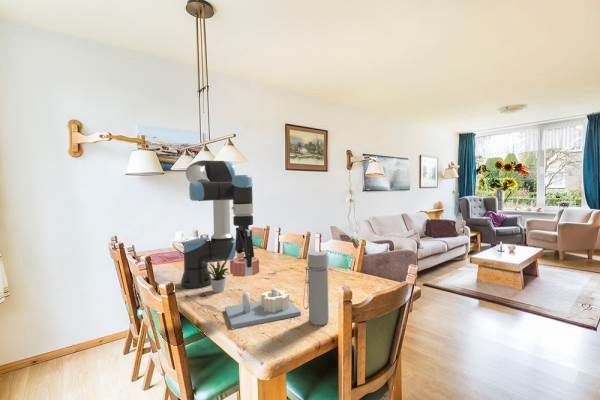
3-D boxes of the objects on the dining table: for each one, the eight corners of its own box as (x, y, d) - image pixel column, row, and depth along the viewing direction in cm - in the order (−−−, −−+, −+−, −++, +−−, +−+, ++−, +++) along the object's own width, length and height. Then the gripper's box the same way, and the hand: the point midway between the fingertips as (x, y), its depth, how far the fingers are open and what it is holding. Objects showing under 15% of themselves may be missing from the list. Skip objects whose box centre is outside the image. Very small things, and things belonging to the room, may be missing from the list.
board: (225, 310, 115) (224, 289, 115) (285, 300, 125) (285, 280, 125) (232, 328, 100) (231, 304, 99) (300, 315, 110) (300, 293, 109)
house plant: (199, 298, 129) (198, 262, 129) (201, 288, 142) (200, 256, 142) (231, 295, 133) (230, 260, 132) (230, 285, 146) (229, 254, 146)
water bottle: (327, 316, 108) (326, 251, 107) (330, 326, 100) (329, 255, 99) (303, 317, 108) (302, 251, 107) (304, 327, 100) (302, 256, 99)
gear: (253, 268, 118) (252, 256, 118) (261, 273, 109) (260, 260, 109) (228, 271, 113) (228, 259, 113) (235, 277, 104) (234, 264, 104)
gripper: (226, 214, 119) (228, 267, 119) (241, 217, 99) (243, 281, 99) (244, 213, 123) (245, 265, 123) (262, 216, 102) (263, 277, 103)
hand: (244, 272), depth 111 cm, fingers closed on gear, 10 cm apart
